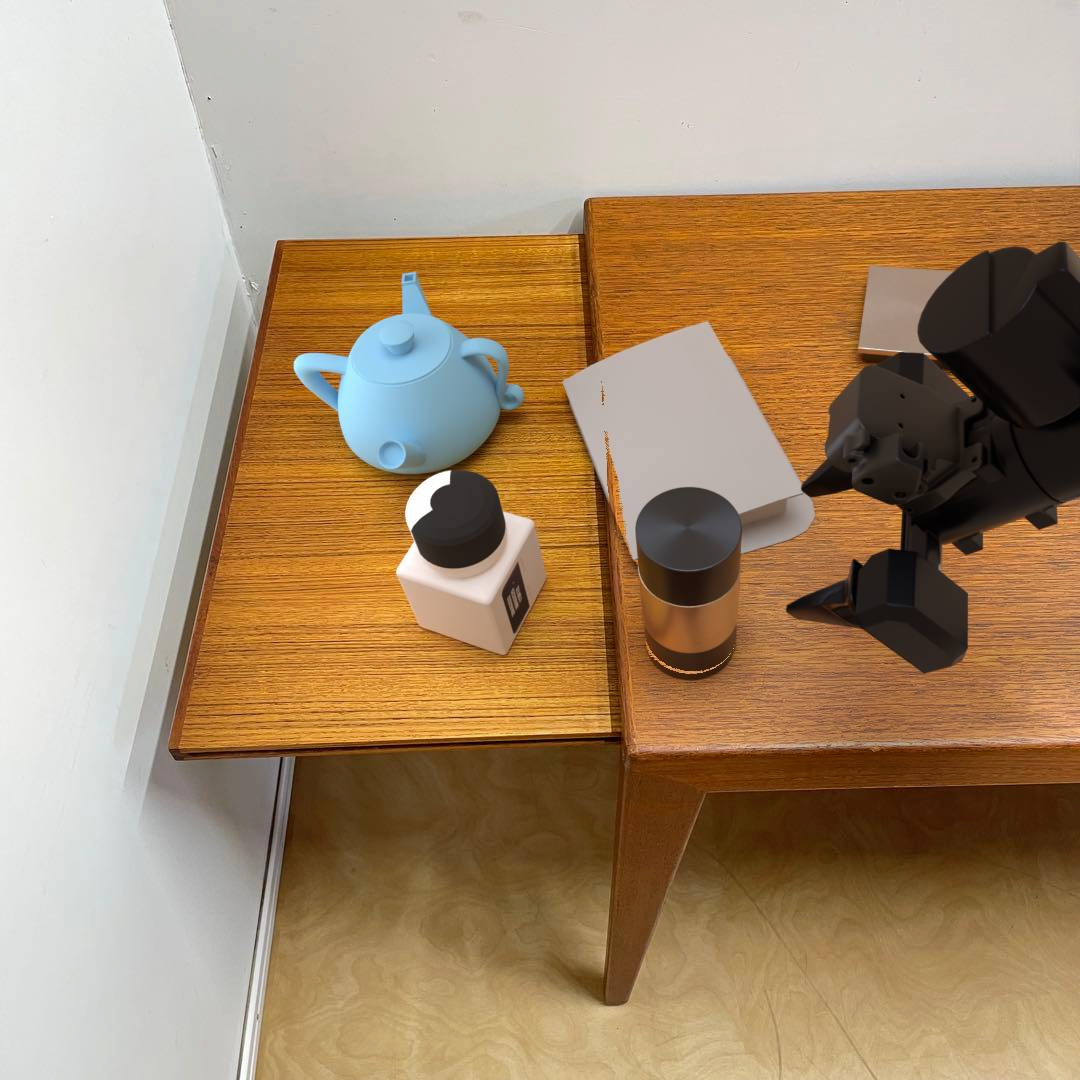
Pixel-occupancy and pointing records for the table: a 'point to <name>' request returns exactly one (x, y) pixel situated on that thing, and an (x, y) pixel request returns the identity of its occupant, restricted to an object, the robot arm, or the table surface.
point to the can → (689, 579)
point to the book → (687, 434)
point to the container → (469, 561)
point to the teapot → (414, 389)
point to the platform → (895, 311)
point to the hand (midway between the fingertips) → (798, 549)
